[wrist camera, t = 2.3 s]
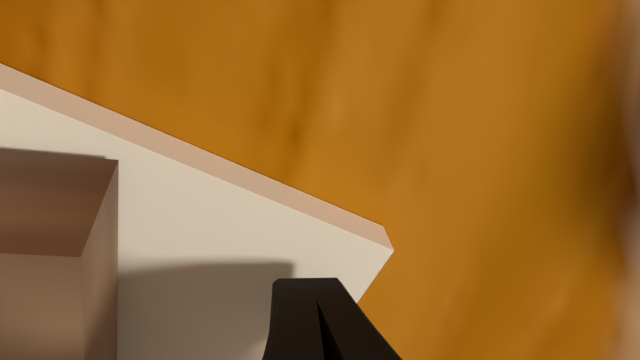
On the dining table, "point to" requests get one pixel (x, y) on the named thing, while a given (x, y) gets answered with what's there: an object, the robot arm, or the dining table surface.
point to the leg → (58, 257)
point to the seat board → (193, 229)
